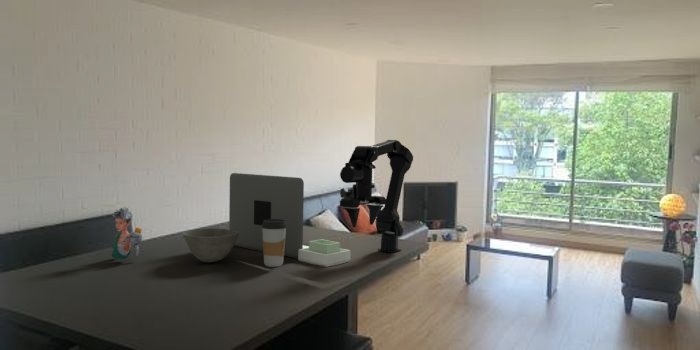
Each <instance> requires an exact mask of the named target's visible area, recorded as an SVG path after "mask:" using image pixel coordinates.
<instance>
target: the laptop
mask: <svg viewBox="0 0 700 350" xmlns="http://www.w3.org/2000/svg"><path fill="white" fill-rule="evenodd" d="M304 189H305V183H304V179H303V178H302V177H296V176H295V177H293V176H279V175H266V174H253V173H238V172H232V173H231V174H230V175H229V207H228V208H229V209H228V212H229V217H228V219H229V220H228V226H229V227H228V230H234V231H238V232H239V235H238V238H237V240H236V242H235V244H234V246H233V247H238V248H244V249H249V250H254V251H259V252H263V232H262V223H263V220H267V219H281V220H285V223H286V227H287V228H286V234H285V250H284V257H290V258H292V259H293V258H294V259H298V249H304V248H309V244H305V243H304V242H303V241H304V238H303V237H304V198H305V197H304V192H305V191H304Z"/></svg>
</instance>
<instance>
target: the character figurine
mask: <svg viewBox="0 0 700 350" xmlns="http://www.w3.org/2000/svg"><path fill="white" fill-rule="evenodd" d="M112 217H113V220H114V222H115V228H116V229H117V233H115V235H114V240H113V243H112V244H111V249H112V253H111V257H112V258H113V259H115V260H116V259H117V260H118V259H119V260H126V259H128V258H129V256H131V253H132V245H133V251H134V256H135V258H139V257H140V247H139V246H140V245H139V243H142V242H143V234H142V231H143V230H142V228H140V227H136V228H135V229H134V231H131V232H129V231H128V227H129V226H131V220H133V214H132V211H130V210H129V207H127V206H122V207H120V208H119V209H116V210H115V211H114V213H113V214H112Z"/></svg>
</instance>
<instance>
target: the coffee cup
mask: <svg viewBox="0 0 700 350" xmlns="http://www.w3.org/2000/svg"><path fill="white" fill-rule="evenodd" d="M286 228H287V227H286V223H285V220H281V219H267V220H263V223H262V232H263V251H262V252H263V253H262V254H263V264H264V266H266V267H270V268H271V267H272V268H275V267H281V266H282V265H283V264H284V258H285V256H284V250H285V234H286Z"/></svg>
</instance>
